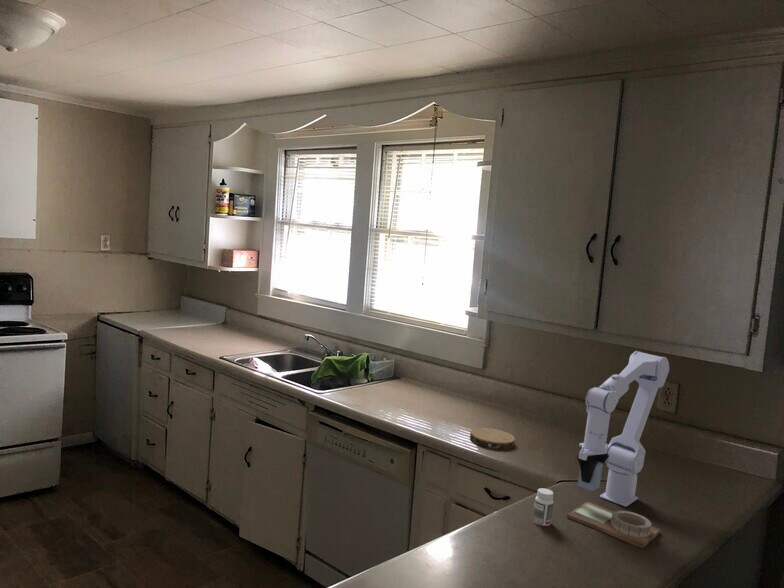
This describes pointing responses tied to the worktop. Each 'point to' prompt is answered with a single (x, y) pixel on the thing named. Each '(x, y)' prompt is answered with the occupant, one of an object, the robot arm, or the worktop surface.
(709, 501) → the worktop surface
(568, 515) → the board
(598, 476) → the peg block
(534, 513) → the pill bottle
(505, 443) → the tan round disc
